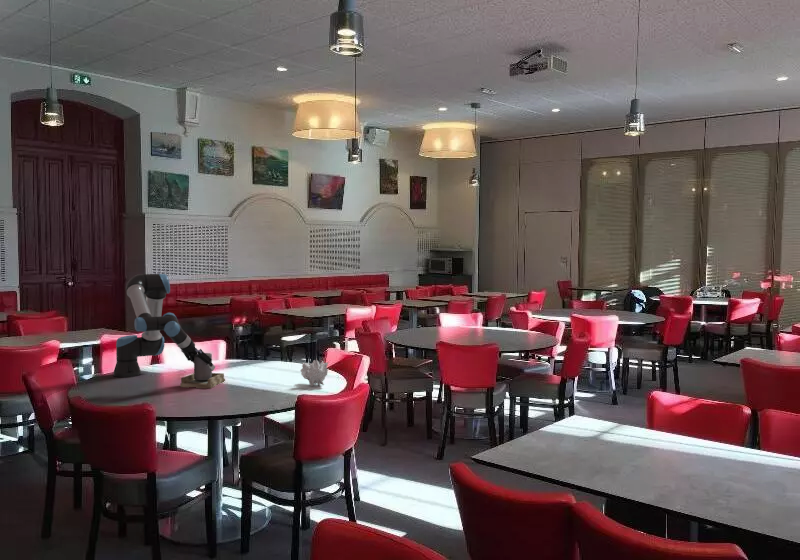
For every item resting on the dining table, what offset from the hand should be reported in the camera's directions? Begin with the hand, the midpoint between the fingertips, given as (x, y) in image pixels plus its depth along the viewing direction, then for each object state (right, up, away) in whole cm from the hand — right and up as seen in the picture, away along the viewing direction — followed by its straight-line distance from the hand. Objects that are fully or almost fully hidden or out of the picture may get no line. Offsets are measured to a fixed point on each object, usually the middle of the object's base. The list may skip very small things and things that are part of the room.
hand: (207, 368), depth 375 cm
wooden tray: (-2, -9, -2) cm, 9 cm away
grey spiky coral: (+60, -10, -3) cm, 61 cm away
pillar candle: (-2, -6, -3) cm, 6 cm away
